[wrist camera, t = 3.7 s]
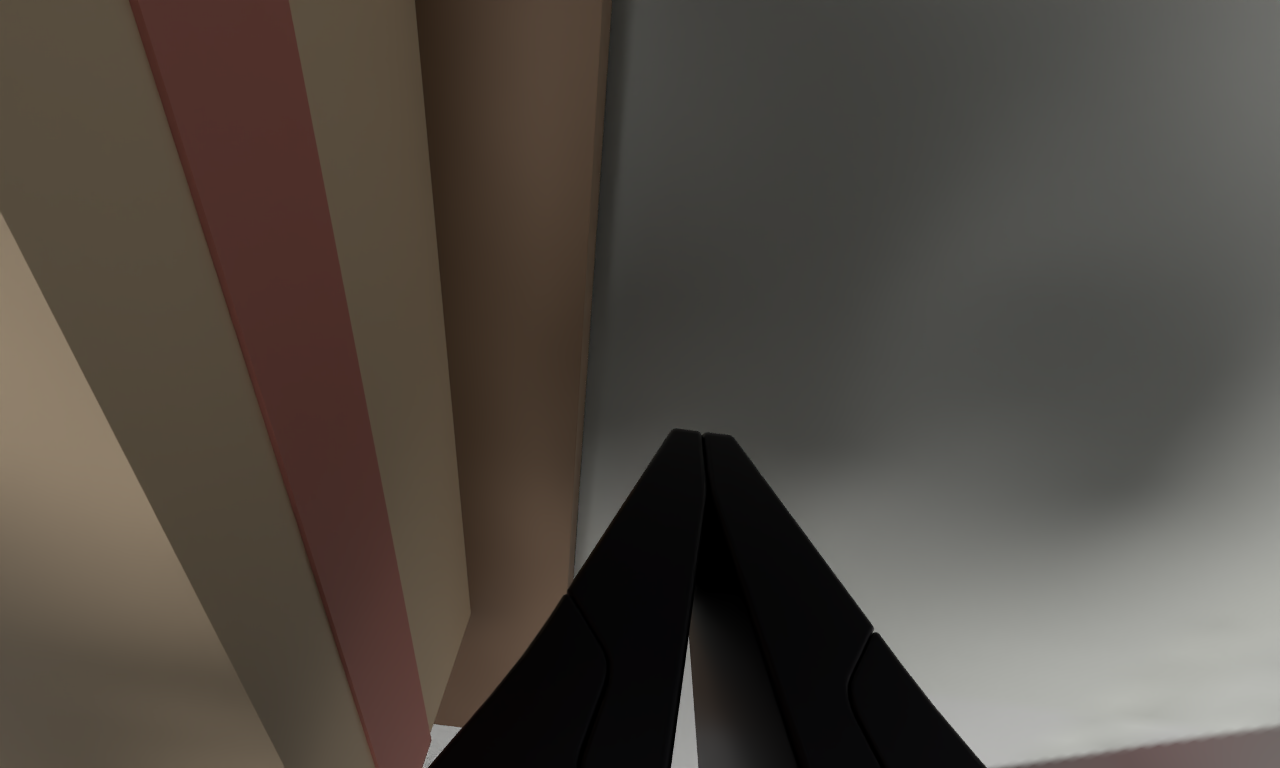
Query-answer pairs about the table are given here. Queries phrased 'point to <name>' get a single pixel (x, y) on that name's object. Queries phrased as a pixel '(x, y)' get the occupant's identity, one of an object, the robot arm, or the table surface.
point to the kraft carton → (221, 389)
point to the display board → (514, 298)
